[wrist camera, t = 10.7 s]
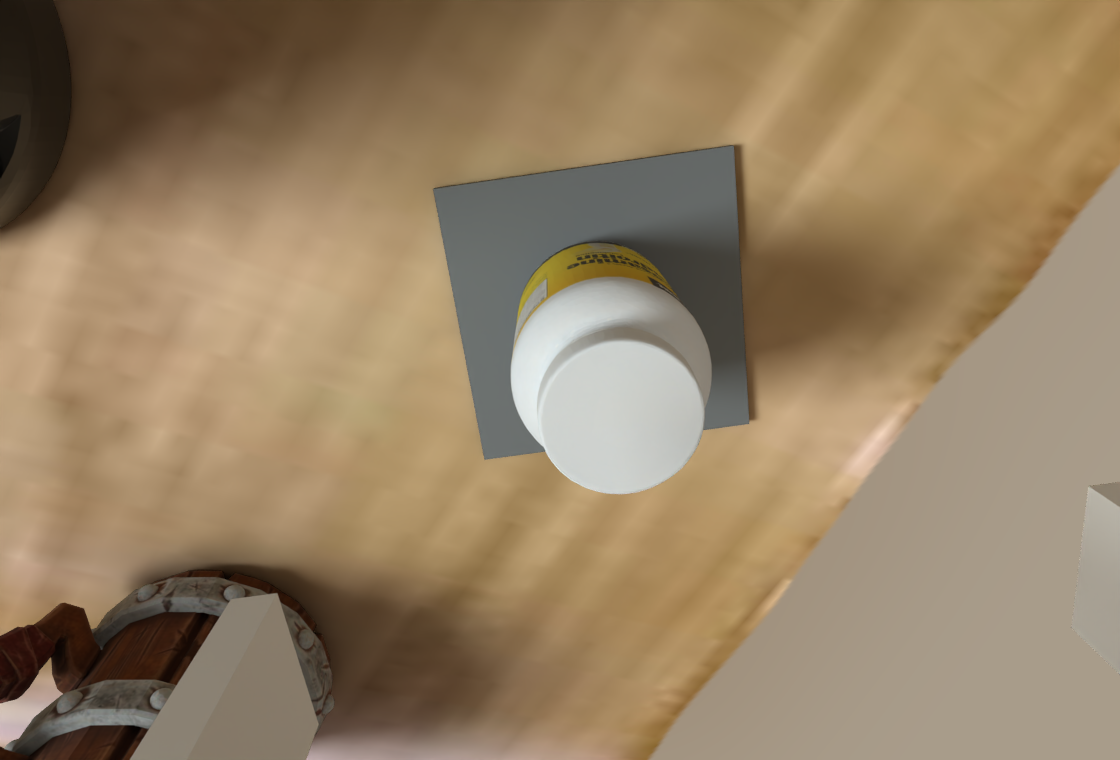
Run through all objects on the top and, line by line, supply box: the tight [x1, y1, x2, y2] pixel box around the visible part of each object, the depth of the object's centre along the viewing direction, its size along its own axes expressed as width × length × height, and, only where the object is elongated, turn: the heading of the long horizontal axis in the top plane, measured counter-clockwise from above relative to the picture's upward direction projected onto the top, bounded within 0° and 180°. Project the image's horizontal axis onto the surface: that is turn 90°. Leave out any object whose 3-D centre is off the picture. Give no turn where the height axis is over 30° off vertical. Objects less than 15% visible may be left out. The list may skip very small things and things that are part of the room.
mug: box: [0, 571, 334, 760], centre depth 31 cm, size 12×14×15 cm
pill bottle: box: [511, 241, 712, 494], centre depth 26 cm, size 6×6×12 cm
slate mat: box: [433, 145, 749, 460], centre depth 32 cm, size 12×12×1 cm
